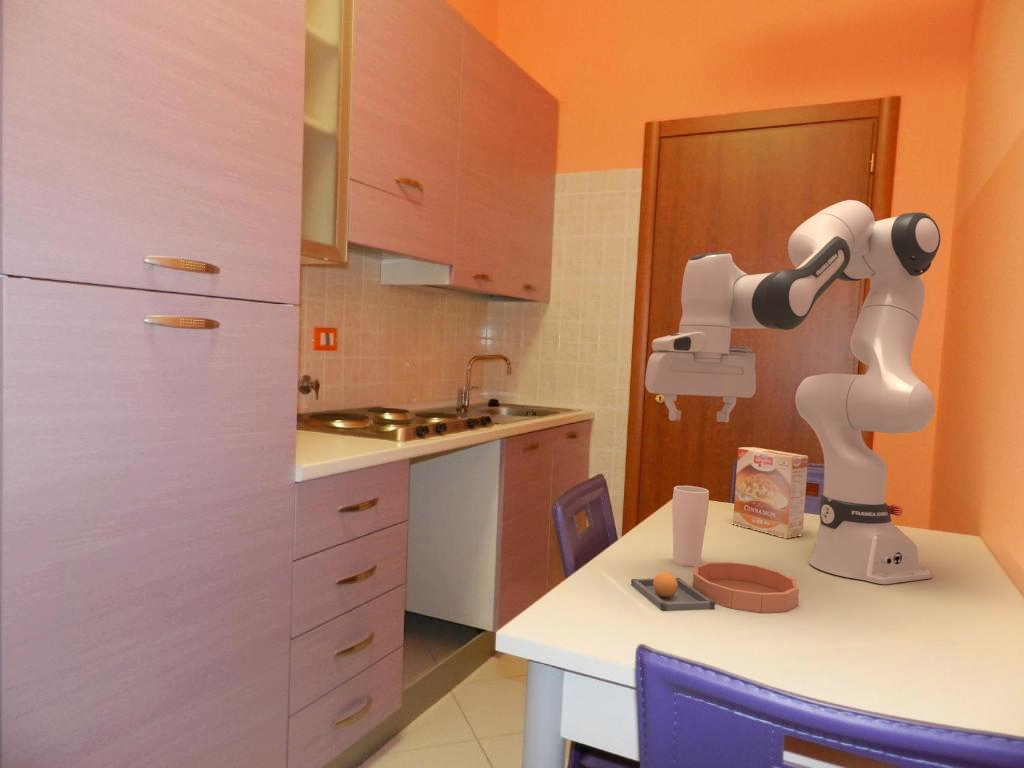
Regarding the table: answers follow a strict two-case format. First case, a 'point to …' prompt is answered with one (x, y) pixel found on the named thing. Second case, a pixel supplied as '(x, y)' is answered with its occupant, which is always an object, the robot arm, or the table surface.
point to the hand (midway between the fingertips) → (698, 421)
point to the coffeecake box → (770, 491)
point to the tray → (674, 596)
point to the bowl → (746, 587)
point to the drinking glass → (689, 524)
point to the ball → (665, 584)
